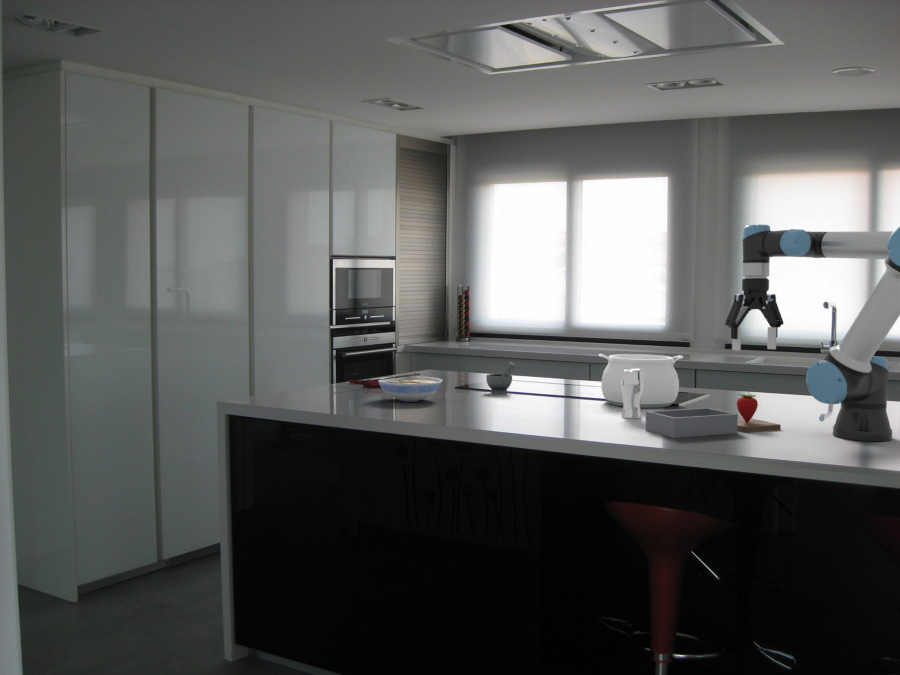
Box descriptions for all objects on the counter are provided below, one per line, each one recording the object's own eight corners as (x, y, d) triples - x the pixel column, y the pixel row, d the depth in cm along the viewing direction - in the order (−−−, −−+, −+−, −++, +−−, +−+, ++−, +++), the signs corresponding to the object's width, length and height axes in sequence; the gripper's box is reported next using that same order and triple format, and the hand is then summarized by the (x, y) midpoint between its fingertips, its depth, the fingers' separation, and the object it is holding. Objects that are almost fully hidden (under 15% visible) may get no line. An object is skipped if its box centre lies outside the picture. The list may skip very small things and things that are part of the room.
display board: (780, 429, 259) (780, 424, 259) (745, 432, 254) (745, 427, 254) (746, 422, 272) (747, 417, 272) (712, 424, 267) (713, 419, 267)
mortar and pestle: (481, 393, 331) (482, 361, 330) (492, 391, 339) (492, 359, 338) (509, 396, 326) (510, 363, 325) (519, 393, 334) (519, 361, 333)
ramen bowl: (412, 407, 294) (412, 383, 293) (361, 401, 307) (361, 377, 307) (457, 399, 313) (457, 377, 313) (407, 394, 327) (408, 372, 327)
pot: (675, 399, 321) (677, 352, 319) (688, 410, 294) (689, 359, 293) (594, 397, 324) (596, 350, 322) (599, 408, 297) (601, 357, 296)
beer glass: (626, 419, 275) (627, 371, 274) (616, 415, 281) (617, 368, 280) (646, 418, 277) (647, 370, 276) (636, 415, 283) (637, 368, 282)
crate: (737, 433, 252) (737, 414, 252) (673, 438, 244) (674, 418, 243) (706, 426, 264) (707, 407, 264) (645, 430, 255) (646, 411, 255)
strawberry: (733, 422, 261) (734, 389, 260) (739, 419, 268) (740, 386, 267) (753, 424, 258) (755, 390, 257) (759, 421, 264) (760, 388, 264)
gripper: (778, 278, 269) (776, 347, 270) (713, 277, 259) (712, 350, 260) (797, 277, 262) (795, 349, 264) (731, 277, 252) (730, 351, 253)
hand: (754, 349), depth 262 cm, fingers open, 13 cm apart
